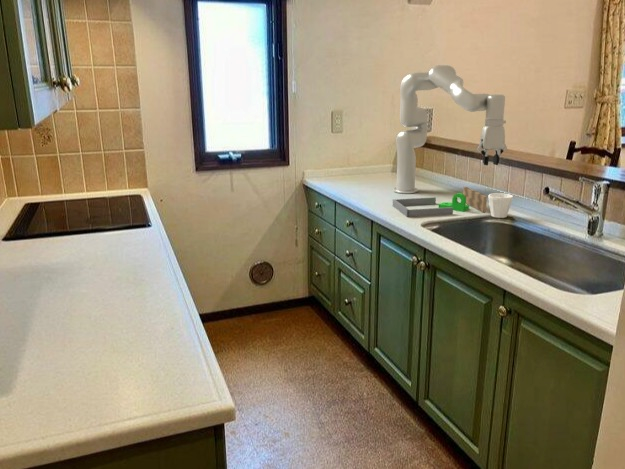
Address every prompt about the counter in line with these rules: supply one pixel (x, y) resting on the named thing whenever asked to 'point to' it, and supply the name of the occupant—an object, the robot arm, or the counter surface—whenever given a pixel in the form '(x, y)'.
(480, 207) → the gate
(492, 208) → the cup
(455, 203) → the mechanical part
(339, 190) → the counter surface
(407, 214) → the grey tray
